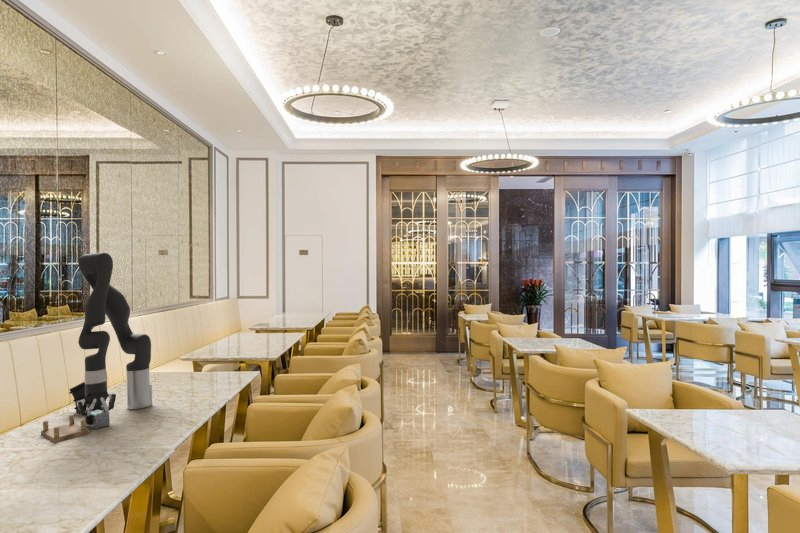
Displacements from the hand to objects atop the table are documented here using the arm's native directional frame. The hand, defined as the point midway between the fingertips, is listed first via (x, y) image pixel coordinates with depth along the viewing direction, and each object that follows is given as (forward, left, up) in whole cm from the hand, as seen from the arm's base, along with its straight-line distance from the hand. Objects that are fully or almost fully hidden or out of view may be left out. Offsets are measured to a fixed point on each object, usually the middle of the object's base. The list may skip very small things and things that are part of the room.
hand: (97, 422), depth 189 cm
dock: (+11, 0, -1) cm, 11 cm away
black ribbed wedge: (-6, -28, -2) cm, 29 cm away
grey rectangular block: (0, 0, -1) cm, 1 cm away
